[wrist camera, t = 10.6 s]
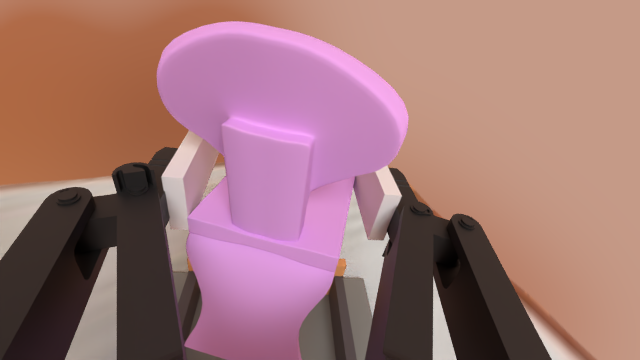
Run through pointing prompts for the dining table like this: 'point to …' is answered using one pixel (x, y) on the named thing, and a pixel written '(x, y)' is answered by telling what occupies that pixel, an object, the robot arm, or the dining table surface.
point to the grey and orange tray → (317, 328)
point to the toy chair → (273, 174)
